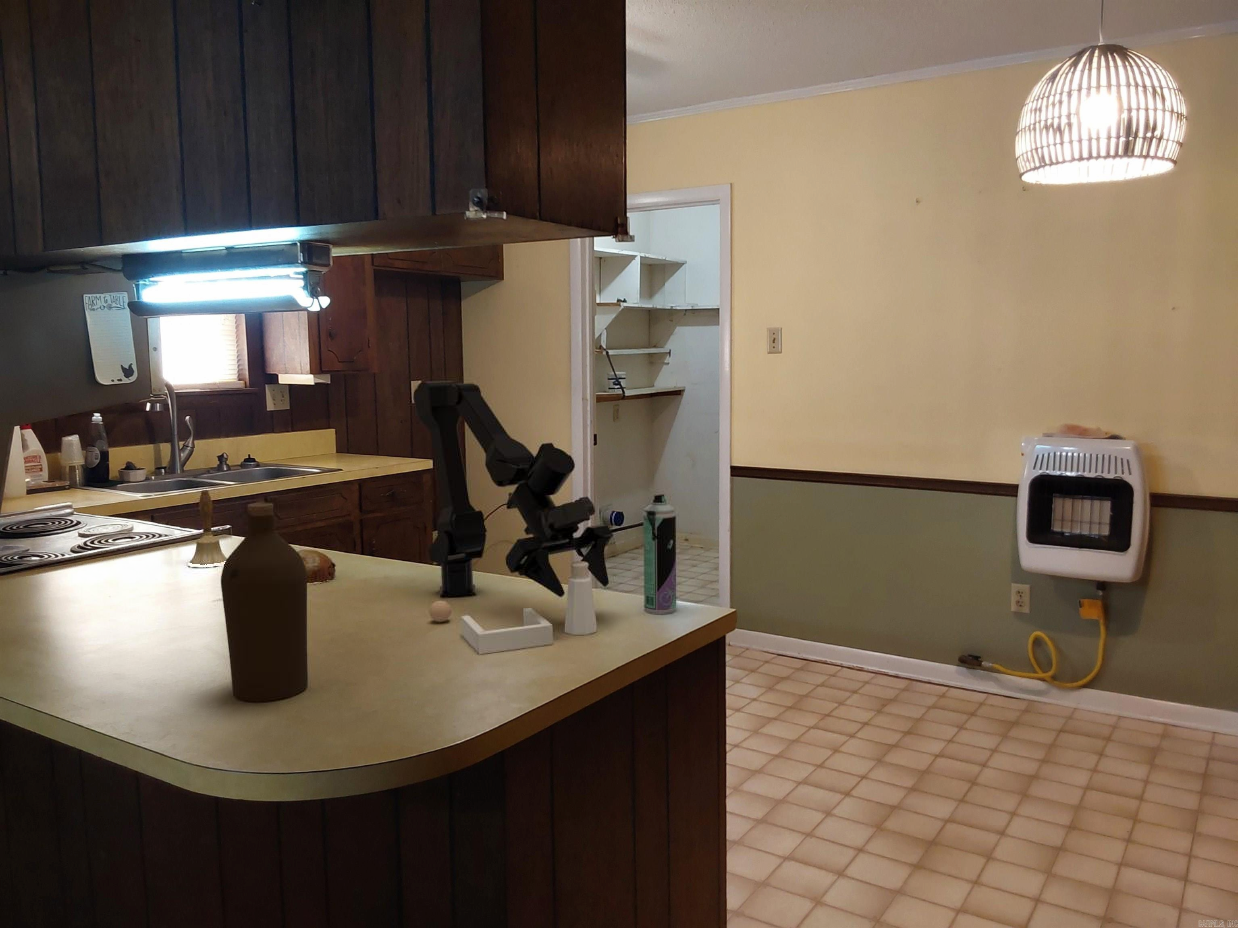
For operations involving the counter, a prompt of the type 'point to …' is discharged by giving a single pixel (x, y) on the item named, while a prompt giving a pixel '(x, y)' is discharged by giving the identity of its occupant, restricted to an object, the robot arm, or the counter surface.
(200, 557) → the wooden handled brush
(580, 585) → the pepper shaker
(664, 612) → the spray can
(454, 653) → the counter surface
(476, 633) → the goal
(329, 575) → the bread roll
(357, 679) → the counter surface
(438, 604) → the ball
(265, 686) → the dark brown bottle
